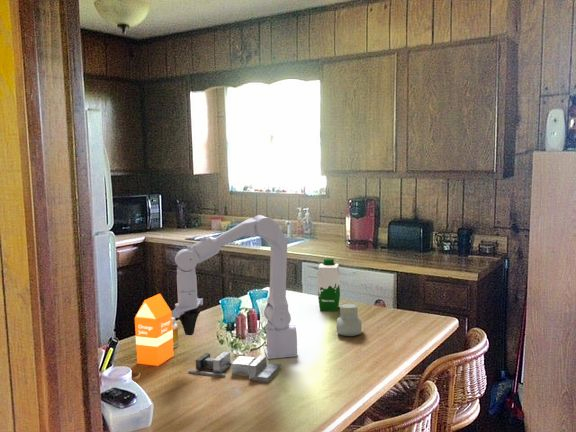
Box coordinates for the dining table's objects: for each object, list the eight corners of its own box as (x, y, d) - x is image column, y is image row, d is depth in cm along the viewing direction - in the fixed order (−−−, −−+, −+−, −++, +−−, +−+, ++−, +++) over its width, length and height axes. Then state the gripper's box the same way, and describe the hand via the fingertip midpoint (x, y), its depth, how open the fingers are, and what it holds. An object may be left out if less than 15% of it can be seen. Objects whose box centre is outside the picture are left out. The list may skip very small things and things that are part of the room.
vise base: (280, 369, 157) (280, 356, 156) (267, 382, 147) (267, 368, 147) (205, 360, 165) (204, 347, 165) (188, 372, 156) (187, 359, 156)
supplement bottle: (180, 343, 182) (178, 315, 181) (177, 348, 176) (175, 320, 175) (164, 343, 182) (162, 315, 181) (160, 349, 176) (159, 320, 175)
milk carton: (340, 305, 222) (340, 258, 219) (339, 312, 213) (338, 262, 211) (319, 305, 223) (318, 258, 221) (317, 311, 214) (316, 262, 212)
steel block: (255, 368, 158) (255, 357, 158) (248, 376, 153) (248, 364, 152) (239, 367, 160) (239, 355, 159) (232, 375, 154) (231, 363, 154)
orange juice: (136, 363, 165) (133, 299, 163) (153, 353, 173) (149, 292, 171) (158, 366, 162) (155, 301, 160) (174, 355, 170) (171, 294, 168)
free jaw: (230, 365, 161) (230, 352, 160) (219, 374, 154) (219, 360, 154) (206, 362, 163) (206, 349, 163) (195, 371, 157) (194, 357, 156)
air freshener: (338, 328, 192) (337, 301, 191) (361, 329, 191) (361, 301, 190) (336, 338, 182) (335, 310, 181) (360, 339, 180) (360, 310, 179)
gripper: (188, 283, 167) (190, 326, 168) (161, 295, 153) (164, 341, 155) (208, 284, 165) (210, 327, 166) (183, 296, 151) (185, 343, 152)
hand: (189, 334), depth 160 cm, fingers closed
